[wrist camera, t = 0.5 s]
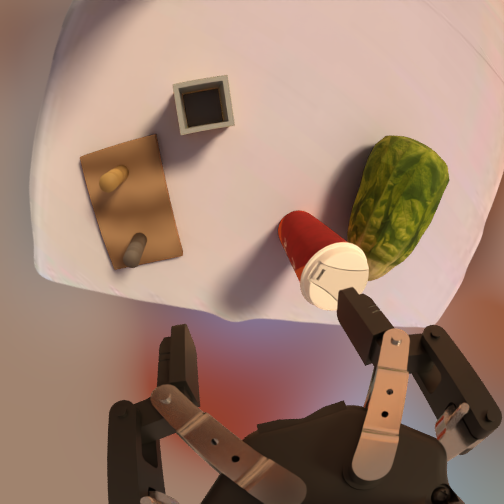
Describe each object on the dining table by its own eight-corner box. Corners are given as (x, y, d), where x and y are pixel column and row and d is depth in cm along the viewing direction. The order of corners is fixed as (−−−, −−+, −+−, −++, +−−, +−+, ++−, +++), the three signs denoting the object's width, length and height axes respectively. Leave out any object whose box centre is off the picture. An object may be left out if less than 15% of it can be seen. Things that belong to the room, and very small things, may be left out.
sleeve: (176, 90, 28) (170, 83, 22) (223, 82, 28) (229, 72, 22) (183, 134, 31) (178, 137, 24) (229, 125, 31) (237, 127, 25)
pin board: (83, 155, 29) (60, 165, 23) (156, 133, 30) (145, 137, 24) (116, 265, 36) (104, 292, 31) (182, 251, 37) (180, 277, 32)
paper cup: (260, 242, 39) (289, 303, 27) (288, 193, 36) (333, 235, 24) (305, 261, 42) (345, 321, 29) (332, 217, 39) (386, 265, 27)
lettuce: (313, 251, 41) (347, 294, 31) (365, 120, 33) (419, 127, 23) (369, 265, 44) (407, 304, 35) (418, 153, 37) (469, 170, 27)
